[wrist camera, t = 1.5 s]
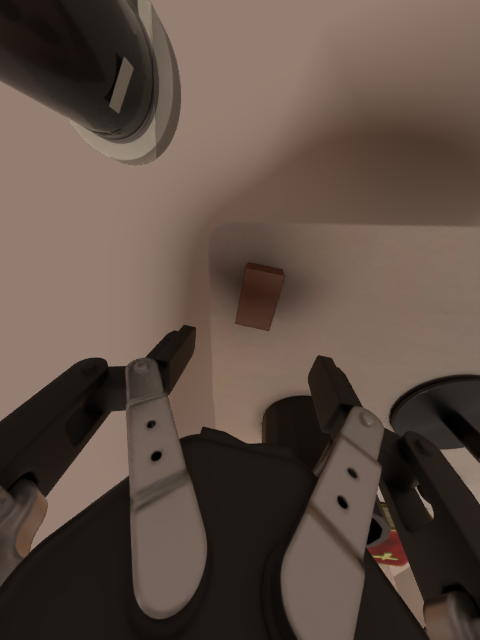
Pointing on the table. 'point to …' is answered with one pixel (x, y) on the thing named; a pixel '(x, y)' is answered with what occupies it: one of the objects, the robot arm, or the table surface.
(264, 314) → the reddish-brown rectangular block
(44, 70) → the robot arm
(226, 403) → the table surface
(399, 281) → the table surface
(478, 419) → the lid
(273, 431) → the waste tin
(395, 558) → the book
